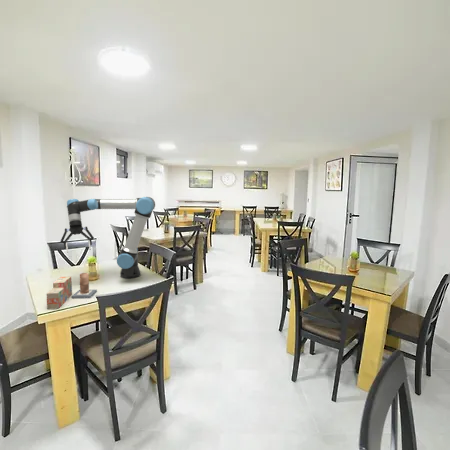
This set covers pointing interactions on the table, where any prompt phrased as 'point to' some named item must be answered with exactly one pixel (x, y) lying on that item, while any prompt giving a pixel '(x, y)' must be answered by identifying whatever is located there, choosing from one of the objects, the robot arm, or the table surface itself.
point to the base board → (87, 295)
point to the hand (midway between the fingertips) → (79, 251)
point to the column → (84, 283)
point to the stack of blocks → (59, 292)
